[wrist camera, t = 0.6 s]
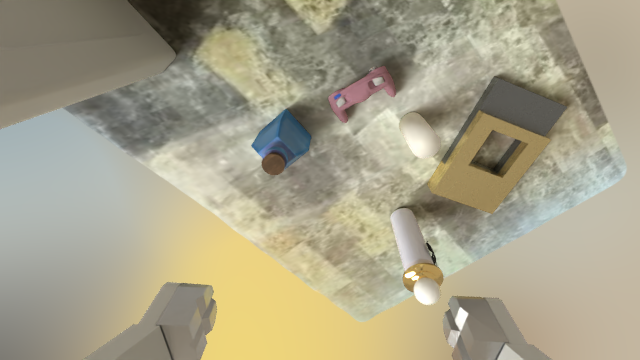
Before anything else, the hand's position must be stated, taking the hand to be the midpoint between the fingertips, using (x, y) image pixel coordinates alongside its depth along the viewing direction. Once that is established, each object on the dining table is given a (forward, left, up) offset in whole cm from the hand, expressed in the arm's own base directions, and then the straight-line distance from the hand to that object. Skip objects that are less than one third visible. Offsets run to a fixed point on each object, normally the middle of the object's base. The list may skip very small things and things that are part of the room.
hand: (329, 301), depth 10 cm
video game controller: (0, +5, -42) cm, 42 cm away
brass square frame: (+1, +29, -41) cm, 50 cm away
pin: (+2, +15, -41) cm, 44 cm away
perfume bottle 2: (+19, +22, -42) cm, 51 cm away
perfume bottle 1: (+11, -4, -42) cm, 43 cm away
